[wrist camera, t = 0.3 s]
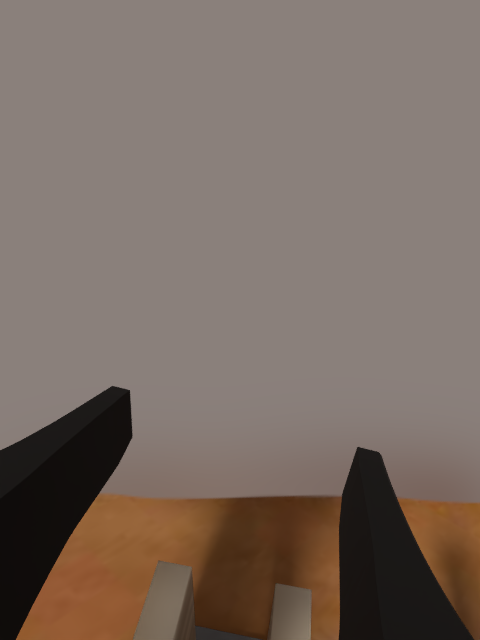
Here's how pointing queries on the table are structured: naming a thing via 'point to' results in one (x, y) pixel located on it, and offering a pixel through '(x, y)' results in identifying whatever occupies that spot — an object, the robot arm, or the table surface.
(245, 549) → the table surface
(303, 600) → the domino
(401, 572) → the robot arm
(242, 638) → the grey flat rectangular board
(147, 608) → the domino
